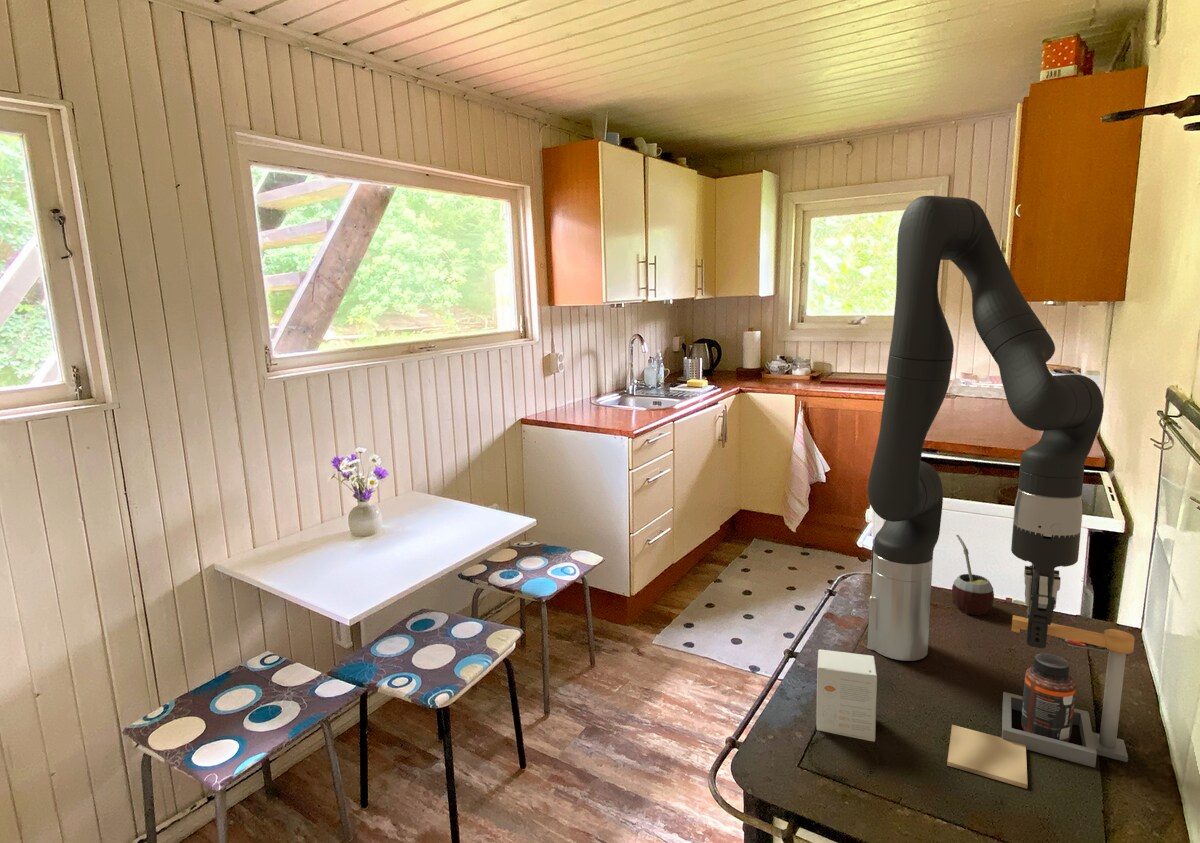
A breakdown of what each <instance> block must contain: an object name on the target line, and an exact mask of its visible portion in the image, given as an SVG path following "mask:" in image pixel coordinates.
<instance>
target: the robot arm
mask: <svg viewBox="0 0 1200 843" xmlns="http://www.w3.org/2000/svg"><path fill="white" fill-rule="evenodd" d="M987 216H988V215H987V214H986V213H985V210H984V209H983V208H982V207H981V205H980V204H978V203H977V202H976V201H975V200H972V199H970V198H968V197H958V196H957V197H956V196H942V195H921V196H919V197H917V198H915V199H914V200H912V201H911V202H910V203H909V204H908V206H906V208H905V210H904V212H903V214H902V217H901V218H900V222H899V225H898V232H897V243H896V245H897V246H896V284H895V285H896V289H895V301H894V302H895V303H894V313H893V314H894V315H893V323H892V331H891V332H892V333H891V340H890V346H889V352H888V360H887V368H886V377H885V389H884V396H883V402H882V411H881V417H880V418H881V419H880V426H879V433H878V434H879V435H878V439H877V442H876V443H877V444H876V447H875V452H874V456H873V461H872V463H871V468H870V471H869V477H868V481H867V482H868V483H867V497H868V501H869V505H870V506H871V508H872V510H873V511H874V513H875V514H876V515H877V516H878V517H879V518H881V519H883V520H885V521H884V523H883V525H882V527H880V529H879V530H878V532H876V534H875V536H874V539H873V554H872V555H873V558H872V559H873V560H872V580H871V581H872V582H871V584H872V585H871V594H870V596H869V598H868V599H869V600H868V602H869V603H868V622H867V625H868V627H867V649H868V650H871V651H875V652H876V653H878V654H880V655H881V656H884V657H886V658H888V659H892V660H893V659H894V660H897V661H907V662H908V661H918V660H922V659H924V658H925V657H926V656H928V651H929V650H928V648H929V633H930V632H929V630H930V617H931V616H930V615H931V614H930V612H931V595H932V581H933V580H932V579H933V562H934V561H933V560H934V550H935V547H936V545H937V543H938V541H939V537H940V533H941V532H940V531H941V525H942V524H941V523H942V522H941V521H942V513H943V503H944V488H943V487H944V486H943V483H942V479H941V477H940V475H939V474H938V472H937V469H935V468H934V467H933V466H932V465H930V463H928V462H925V461H923V460H922V454H923V447H924V444H925V441H926V437H927V435H928V432H929V431H930V428H931V427H932V424H933V423H934V421H935V419H936V416H937V415H938V413H939V411H940V409H941V407H942V405H943V402H944V400H945V398H946V396H947V393H948V390H949V389H948V388H949V386H950V381H951V374H952V367H953V362H954V361H953V359H954V352H955V351H954V350H955V349H954V348H955V346H954V339H953V337H952V336H953V335H952V333H951V330H950V327H949V325H948V322H947V319H946V317H945V313H944V312H943V309H942V305H941V304H940V298H939V289H938V288H939V274H940V266H941V261H951V262H952V263H953V264H954V265H955V266H956V267H957V268H958V270H959V271H961V273H962V274H963V275H964V277H965V278H966V281H967V282H968V284H969V288H970V292H971V306H972V307H971V309H972V311H971V312H972V319H973V324H974V326H975V329H976V332H977V333H978V335H979V337H980V339H981V341H982V342H983V344H984V345H985V347H986V349H987V350H988V352H989V354H990V355H991V356H992V358H993V360H994V361H995V363H996V364H997V366H998V370H999V376H1000V379H1001V383H1002V387H1003V389H1004V394H1005V397H1006V402H1007V404H1008V407H1009V409H1010V411H1011V413H1012V415H1013V416H1014V417H1015V418H1016V419H1017V421H1019V422H1020V423H1022V425H1024V426H1025V427H1026V428H1029V429H1031V430H1033V431H1034V430H1035V431H1039V432H1041V431H1042V435H1041V437H1040V439H1039V441H1038V442H1037V443H1034V444H1033V445H1031V446H1029V447H1027V448H1026V449H1024V451H1023V452H1022V454H1021V455H1020V456H1021V457H1020V461H1019V462H1020V464H1019V473H1018V483H1017V488H1018V489H1017V493H1016V496H1015V501H1014V509H1013V518H1012V519H1013V521H1012V534H1011V547H1010V551H1011V553H1012V555H1014V556H1015V557H1016V558H1017V559H1020V560H1021V561H1024V562H1029V563H1031V565H1024V573H1023V577H1024V585H1025V586H1024V588H1025V589H1024V603H1025V605H1026V606H1027V609H1026V618H1028V627H1027V630H1026V645H1028V646H1029V647H1032V648H1036V649H1037V648H1038V649H1042V650H1043V649H1045V648H1046V647H1047V641H1048V640H1047V639H1048V635H1047V630H1048V625H1050V624H1051V623H1053V614H1054V610H1055V609H1056V607H1057V597H1058V592H1059V591H1060V589H1061V579H1062V578H1061V576H1060V570H1059V569H1058V570H1057V569H1056V568H1059V567H1063V568H1065V567H1070V566H1074V565H1075V564H1076V563H1077V562H1078V561H1079V554H1080V552H1079V551H1080V544H1081V543H1080V541H1081V533H1082V532H1081V531H1082V524H1083V502H1082V498H1083V497H1082V494H1083V486H1084V478H1085V477H1084V476H1085V463H1086V460H1087V458H1088V456H1089V454H1090V452H1091V450H1092V447H1093V445H1094V442H1095V440H1096V437H1097V434H1098V432H1099V430H1100V426H1101V423H1102V420H1103V415H1104V409H1105V408H1104V406H1105V405H1104V397H1103V394H1102V391H1101V389H1100V386H1098V384H1097V383H1096V382H1095V380H1093V379H1091V378H1090V377H1088V376H1086V375H1082V374H1075V373H1073V374H1060V375H1059V374H1057V375H1053V374H1052V373H1051V370H1049V368H1048V365H1047V362H1049V361H1050V360H1051V359H1052V357H1053V356H1054V354H1055V352H1056V346H1055V342H1054V340H1053V338H1052V337H1051V335H1050V333H1049V331H1047V329H1046V327H1045V326H1044V324H1043V323H1042V322H1041V320H1040V319H1039V317H1038V315H1036V313H1035V312H1034V310H1033V308H1032V307H1031V305H1030V304H1029V303H1028V301H1027V300H1026V298H1025V297H1024V295H1023V293H1022V291H1021V290H1020V289H1019V287H1018V285H1017V283H1016V280H1015V278H1014V277H1013V274H1012V272H1011V269H1010V267H1009V266H1008V264H1007V260H1006V259H1005V256H1004V254H1003V252H1002V249H1001V247H1000V245H999V242H998V240H997V237H996V235H995V232H994V229H993V228H992V226H991V222H990V221H989V219H988V217H987Z"/></svg>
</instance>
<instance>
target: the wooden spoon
mask: <svg viewBox="0 0 1200 843" xmlns="http://www.w3.org/2000/svg"><path fill="white" fill-rule="evenodd" d="M1027 627H1028V618H1027V617H1024V616H1021V615H1020V616H1018V615H1015V614H1013V615H1012V618H1011V632H1015V633H1019V634H1020V632H1021V630H1023V631H1027ZM1047 636H1050V637H1051V636H1052V637H1057V638H1061V639H1062V638H1065V639H1070V640H1074V641H1079V642H1084V643H1088V644H1089V645H1091V644H1093V645H1096V646H1098V647H1101V648H1102V647H1105V648H1107V649H1106V650H1108V651H1109V650H1111V651H1114V652H1118V653H1124V654H1129V655H1130V654H1132V653H1134V649H1135V648H1134V647H1135V641H1136V640H1135V639H1136V637H1135V636H1134V635H1133V634H1131V633H1129V632H1126V631H1123V630H1120V629H1115V628H1109V629H1107V628H1106V629H1105V630H1104V631H1103V633H1102V632H1096V631H1092V630H1087V629H1082V628H1078V627H1073V626H1068V625H1063V624H1057V623H1053V622H1052V623H1051V624H1050V625H1048V630H1047ZM1065 639H1064V640H1065ZM1093 645H1092V646H1093Z"/></svg>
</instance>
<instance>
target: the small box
mask: <svg viewBox="0 0 1200 843" xmlns="http://www.w3.org/2000/svg"><path fill="white" fill-rule="evenodd" d="M816 667H817V670H816V672H817V673H816V674H817V676H816V677H817V678H816V680H817V681H816V730H817V731H820V732H824V733H829V734H835V735H838V736H839V735H840V736H845V737H848V738H855V739H860V740H864V741H869V742H874V743H875V742H876V721H877V720H876V719H877V718H876V717H877V715H876V714H877V693H878V692H877V688H878V685H877V684H878V675H877V667H876V661H875V656H874V655H869V654H861V653H854V652H853V653H852V652H846V651H845V652H843V651H837V650H829V649H828V650H827V649H821V648H820V649H818V651H817V666H816Z"/></svg>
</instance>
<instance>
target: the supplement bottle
mask: <svg viewBox="0 0 1200 843" xmlns="http://www.w3.org/2000/svg"><path fill="white" fill-rule="evenodd" d="M1024 674H1025V675H1024V682H1023V685H1024V686H1023V706H1022V712H1021V718H1020V719H1021V727H1022V729H1023V730H1022V731H1025V732H1029V733H1033V734H1037V735H1041V736H1045V737H1048V738H1052V739H1056V740H1060V741H1064V742H1068V743H1070V740H1071V737H1072V734H1073V733H1072V730H1073V724H1072V723H1073V712H1074V708H1075V701H1076V691H1077V690H1076V689H1077V686H1076V681H1075V679H1074V678H1073V677H1072V676H1071V675H1070V662H1069V661H1067V660H1066V659H1065V658H1063V657H1061V656H1058V655H1055V654H1050V653H1038V654H1036V655H1035V656H1034V662H1033V665H1032V666H1030V667H1028V668H1027V669H1026V670H1025V673H1024Z"/></svg>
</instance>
